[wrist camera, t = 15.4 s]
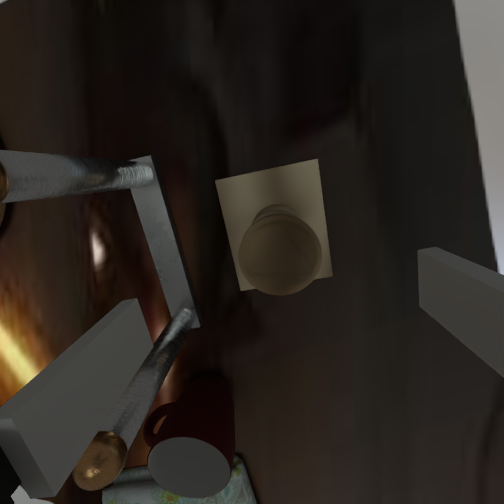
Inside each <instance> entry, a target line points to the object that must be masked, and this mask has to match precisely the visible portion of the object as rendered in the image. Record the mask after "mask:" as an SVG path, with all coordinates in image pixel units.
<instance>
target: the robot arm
mask: <svg viewBox="0 0 504 504" xmlns="http://www.w3.org/2000/svg"><path fill="white" fill-rule="evenodd" d="M418 276H419V304H420V307H421V308H422V309H423V310H425V311H426V312H427V313H428V314H429V315H430V316H432V317H433V318H434V319H435V320H436V321H438V322H439V323H440V324H441V325H442V326H443V327H445V328H446V329H447V330H448V331H449V332H451V333H452V334H453V335H454V336H455V337H456V338H458V339H459V340H460V341H461V342H462V343H463V344H465V345H466V346H467V347H468V348H469V349H471V350H472V351H473V352H474V353H475V354H476V355H478V356H479V357H480V358H481V359H482V360H483V361H485V362H486V363H487V364H488V365H489V366H491V367H492V368H493V369H494V370H495V371H496V372H498V373H499V374H500V375H501V376H502V377H504V275H502V274H499V273H497V272H494V271H492V270H490V269H487V268H485V267H483V266H480V265H478V264H475V263H473V262H471V261H468V260H466V259H464V258H461V257H459V256H456V255H454V254H452V253H449V252H447V251H444V250H442V249H440V248H437V247H433V248H427V249H421V250H418ZM153 347H154V346H153V343H152V340H151V337H150V334H149V331H148V329H147V326H146V323H145V320H144V317H143V314H142V311H141V309H140V306H139V303H138V300H137V298H135V299H129V300H124V301H121V302H120V303H119V304H118V305H117V306H116V307H115V308H113V309H112V310H111V311H110V312H109V313H108V314H107V315H105V316H104V317H103V318H102V319H101V320H100V321H99V322H97V323H96V324H95V325H94V326H93V327H92V328H91V329H89V330H88V331H87V332H86V333H85V334H84V335H83V336H81V337H80V338H79V339H78V340H77V341H76V342H75V343H73V344H72V345H71V346H70V347H69V348H68V349H67V350H65V351H64V352H63V353H62V354H61V355H60V356H59V357H57V358H56V359H55V360H54V361H53V362H52V363H51V364H49V365H48V366H47V367H46V368H45V369H44V370H43V371H41V372H40V373H39V374H38V375H37V376H36V377H34V378H33V379H32V380H31V381H30V382H29V383H28V384H26V385H25V386H24V387H23V388H22V389H21V390H20V391H18V392H17V393H16V394H15V395H14V396H13V397H12V398H10V399H9V400H8V401H7V402H6V403H5V404H4V405H2V406H1V407H0V504H14V501H13V500H12V498H11V495H12V494H13V493H14V491H15V490H16V489H17V487H18V486H19V485H20V484H22V486H23V487H24V489H25V491H26V492H27V494H28V495H29V497H30V499H32V498H44V497H55V496H56V495H57V493H58V492H59V490H60V489H61V487H62V486H63V484H64V482H65V481H66V479H67V478H68V476H69V475H70V473H71V472H72V470H73V469H74V467H75V466H76V464H77V463H78V461H79V460H80V458H81V457H82V455H83V453H84V452H85V450H86V449H87V447H88V446H89V444H90V443H91V441H92V440H93V438H94V437H95V435H96V434H97V432H98V431H99V429H100V428H101V426H102V424H103V423H104V421H105V420H106V418H107V417H108V415H109V414H110V412H111V411H112V409H113V408H114V406H115V405H116V403H117V402H118V400H119V398H120V397H121V395H122V394H123V392H124V391H125V389H126V388H127V386H128V385H129V383H130V382H131V380H132V379H133V377H134V376H135V374H136V373H137V371H138V369H139V368H140V366H141V365H142V363H143V362H144V360H145V359H146V357H147V356H148V354H149V353H150V351H151V350H152V348H153Z"/></svg>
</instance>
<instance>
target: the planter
mask: <svg viewBox="0 0 504 504" xmlns="http://www.w3.org/2000/svg"><path fill="white" fill-rule="evenodd" d="M5 207H6V203H0V226H1V223H2V220H3V217H4V213H5Z"/></svg>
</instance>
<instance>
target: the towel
mask: <svg viewBox="0 0 504 504" xmlns="http://www.w3.org/2000/svg"><path fill="white" fill-rule="evenodd" d="M113 484H114V486H111V487H110V488H106V489H104V490H103V492H102V493H103V496H102V502H103V504H257V502H256V499H255V496H254V494H253V490H252V487H251V484H250V481H249V478H248V474H247V471H246V468H245V466H244V463H243V461H242V460H241V459H240V458H239V457H238V456H236V455H235V454H234V460H233V467H232V473H231V478H230V481H229V483H228V484H227V486H226V487H225V488H224V489H223V490H222V491H220V492H219V493H217V494H215V495H213V496H210V497H206V498H186V497H182V496H178V495H175V494H173V493H171V492H169V491H167V490H165V489H164V488H162V487H161V486H160V485H159V484H157V483H156V481H155V480H154V479H153V478H152V476H151V474H150V472H149V470H148V466H140V467H134V468H128V469H124V470H122V471H121V472H120V474H119V475H118V476H117V477H116V479H115V480H114V482H113Z"/></svg>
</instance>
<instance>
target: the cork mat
mask: <svg viewBox="0 0 504 504" xmlns="http://www.w3.org/2000/svg"><path fill="white" fill-rule="evenodd" d="M215 183H216V187H217V191H218V196H219V200H220V204H221V208H222V213H223V217H224V221H225V226H226V230H227V234H228V238H229V243H230V247H231V251H232V256H233V260H234V264H235V268H236V273H237V277H238V281H239V286H240V290H241V291H244V290H250V289H256V288H255V287H253V286H252V285H251V284H250V283H249V282H248V281H247V280H246V278H245V277H244V275H243V274H242V271H241V269H240V266H239V261H238V251H239V246H240V243H241V240H242V238H243V236H244V234H245V232H246V231H247V230H248V228H249V227H250V226H251V225H252V223H253V220H254V218H255V216H256V215H257V213H258V212H259V211H260V210H262V209H263V208H265V207H267V206H269V205H274V204H281V205H286V206H288V207H290V208H292V209H293V210H294V211H295V212H296V213H297V214H298V215H299V217H300V218H301V220H303V221H304V222H305V223H307V224H308V225H309V226H310V227H311V228H312V230H313V231H314V232H315V234H316V235H317V237H318V239H319V241H320V244H321V248H322V262H321V266H320V269H319V272H318V274H317V275H316V277H315V278H314V279H319V278H325V277H332V276H333V275H332V267H331V259H330V251H329V243H328V236H327V228H326V220H325V212H324V204H323V197H322V189H321V181H320V173H319V165H318V159H314V160H309V161H304V162H300V163H295V164H290V165H286V166H281V167H276V168H272V169H267V170H262V171H258V172H253V173H248V174H243V175H239V176H234V177H229V178H225V179H220V180H215Z"/></svg>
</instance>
